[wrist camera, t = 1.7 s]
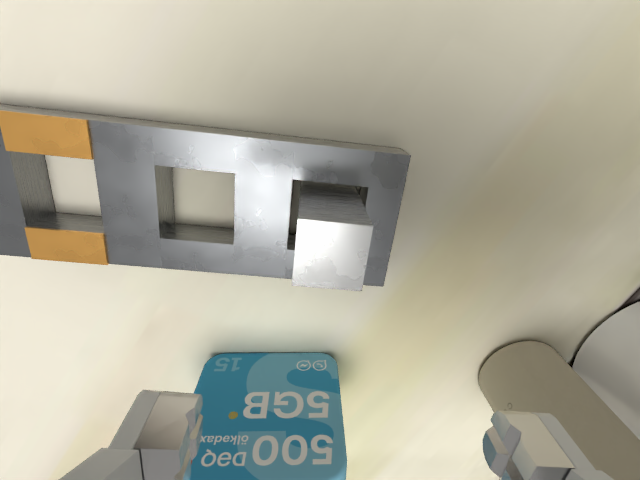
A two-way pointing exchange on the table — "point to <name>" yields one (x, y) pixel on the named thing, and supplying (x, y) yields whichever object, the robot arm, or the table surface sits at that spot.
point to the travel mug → (561, 404)
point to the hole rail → (157, 192)
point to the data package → (270, 418)
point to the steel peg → (331, 237)
